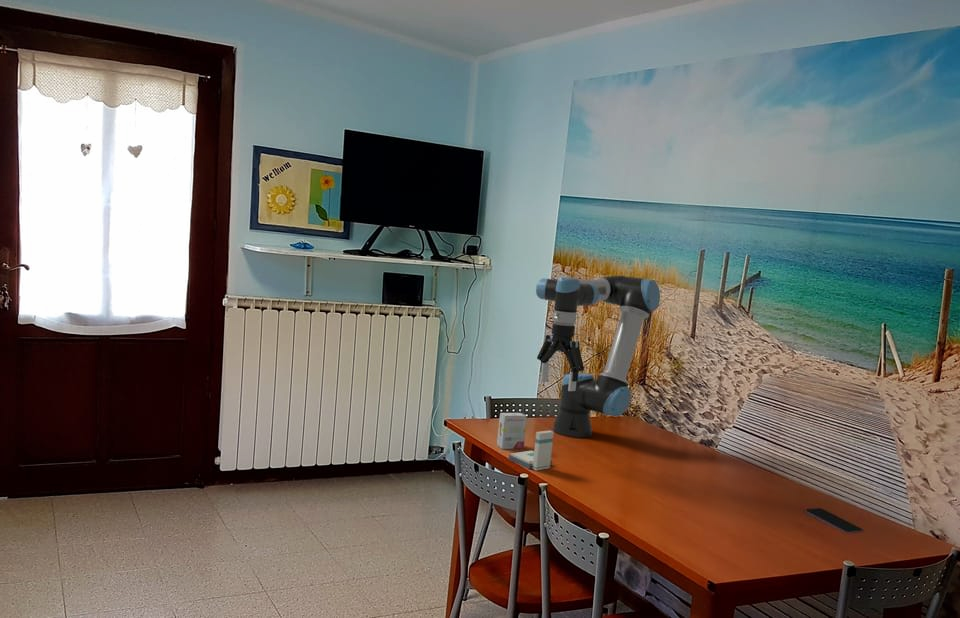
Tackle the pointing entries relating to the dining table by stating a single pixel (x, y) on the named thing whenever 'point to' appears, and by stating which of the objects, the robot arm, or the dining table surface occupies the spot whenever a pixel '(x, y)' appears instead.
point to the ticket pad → (523, 458)
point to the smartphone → (833, 520)
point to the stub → (542, 450)
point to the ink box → (511, 430)
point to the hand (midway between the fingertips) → (557, 386)
